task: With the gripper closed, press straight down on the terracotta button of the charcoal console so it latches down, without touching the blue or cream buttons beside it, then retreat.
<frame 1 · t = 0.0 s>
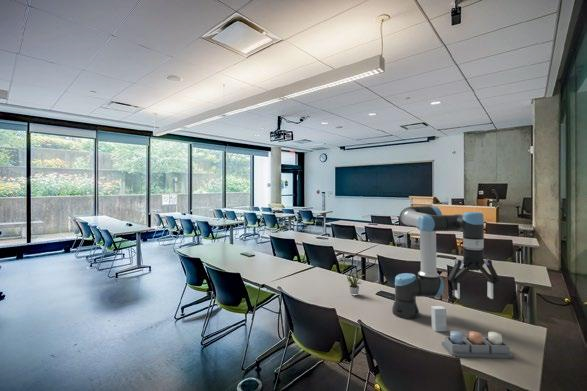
hand: (473, 297, 122), 28 cm above the table, fingers open, 13 cm apart
console: (475, 350, 131), on the table
blue button: (456, 337, 132), point 6 cm above the table, slide at 0.0 cm
house plant: (356, 294, 205), on the table
skincare box: (438, 330, 151), on the table
button cream: (495, 338, 130), point 6 cm above the table, slide at 0.0 cm
button terracotta: (475, 337, 131), point 6 cm above the table, slide at 0.0 cm
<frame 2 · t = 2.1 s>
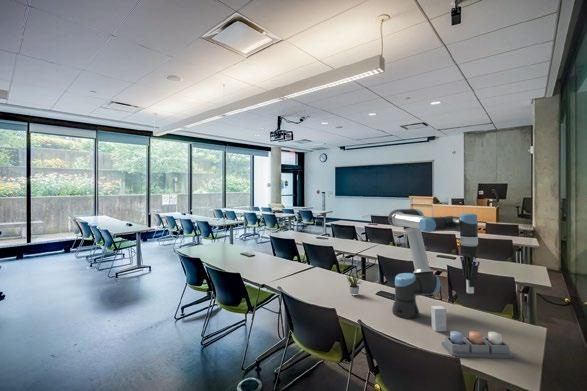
hand: (470, 292, 140), 24 cm above the table, fingers closed
nothing on the table moved.
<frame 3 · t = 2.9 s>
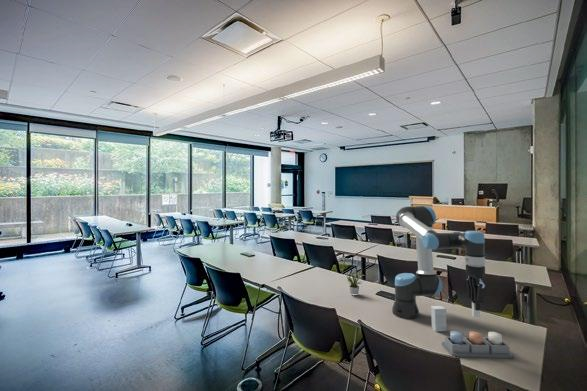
hand: (476, 316, 131), 16 cm above the table, fingers closed
nothing on the table moved.
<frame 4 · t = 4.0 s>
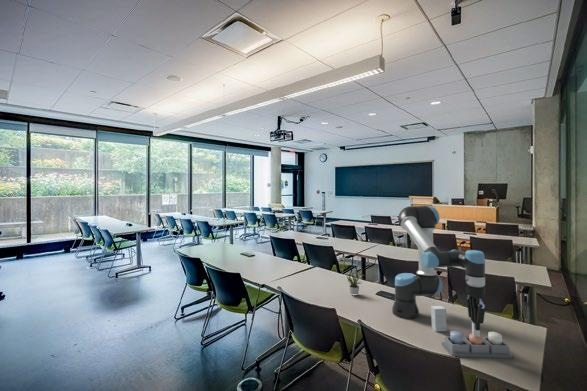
hand: (475, 335, 131), 7 cm above the table, fingers closed
button terracotta: (475, 340, 131), point 5 cm above the table, slide at 1.0 cm, touching gripper
everything else where it was.
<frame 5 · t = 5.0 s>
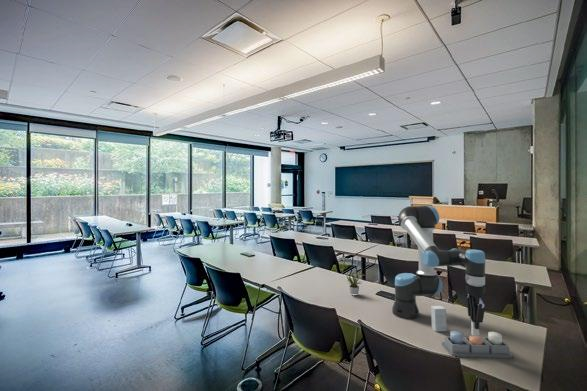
hand: (475, 334, 131), 7 cm above the table, fingers closed
button terracotta: (475, 342, 131), point 4 cm above the table, slide at 1.9 cm
everything else where it was.
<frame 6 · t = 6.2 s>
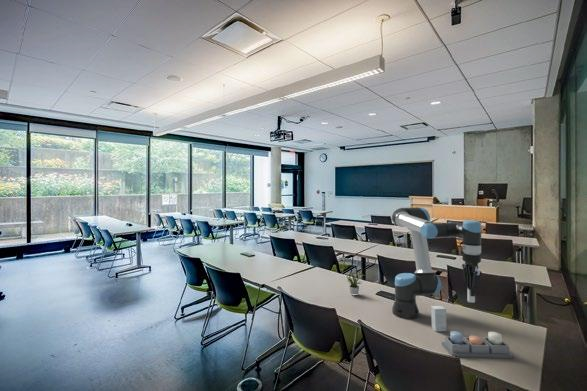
hand: (471, 301, 137), 20 cm above the table, fingers closed
nothing on the table moved.
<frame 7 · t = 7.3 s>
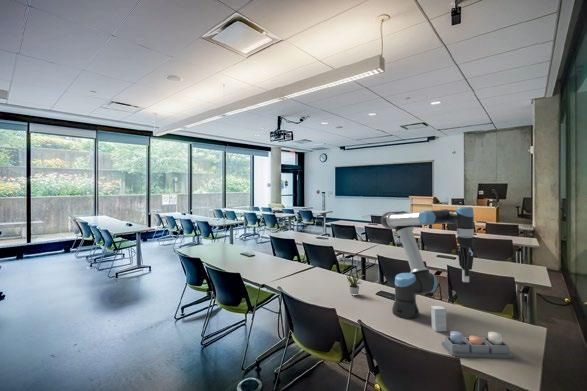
hand: (465, 281, 148), 26 cm above the table, fingers closed
nothing on the table moved.
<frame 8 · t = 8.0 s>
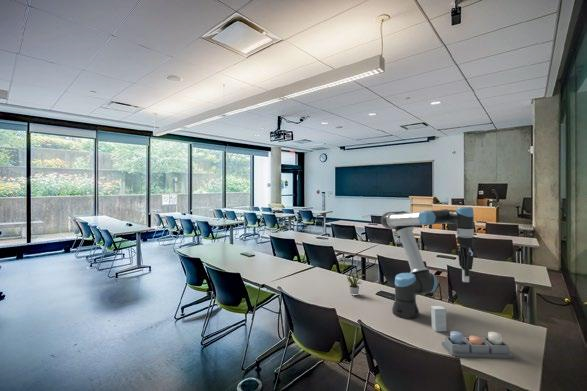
hand: (465, 281, 148), 26 cm above the table, fingers closed
nothing on the table moved.
at the end: button terracotta slide at 1.9 cm; blue button slide at 0.0 cm; button cream slide at 0.0 cm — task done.
